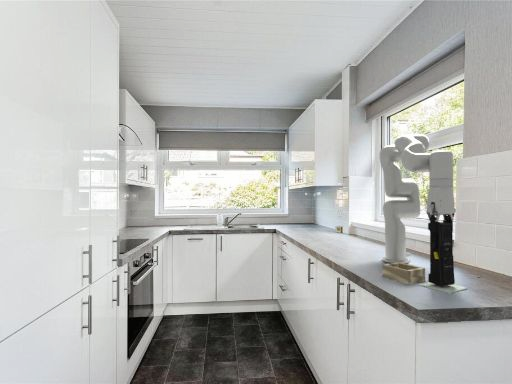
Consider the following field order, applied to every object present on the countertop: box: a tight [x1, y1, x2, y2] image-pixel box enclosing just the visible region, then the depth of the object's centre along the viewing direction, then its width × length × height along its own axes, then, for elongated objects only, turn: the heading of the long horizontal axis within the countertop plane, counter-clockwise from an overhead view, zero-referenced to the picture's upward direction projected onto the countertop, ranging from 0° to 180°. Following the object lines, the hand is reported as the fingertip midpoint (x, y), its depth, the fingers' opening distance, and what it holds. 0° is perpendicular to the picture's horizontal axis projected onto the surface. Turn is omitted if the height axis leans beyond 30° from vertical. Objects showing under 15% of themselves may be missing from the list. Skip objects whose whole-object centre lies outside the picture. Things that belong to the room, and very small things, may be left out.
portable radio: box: [427, 217, 456, 286], centre depth 108 cm, size 8×6×25 cm
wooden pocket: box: [381, 262, 426, 285], centre depth 119 cm, size 10×12×5 cm
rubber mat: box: [418, 281, 468, 295], centre depth 108 cm, size 11×11×1 cm
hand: (441, 231), depth 109 cm, fingers open, 7 cm apart
